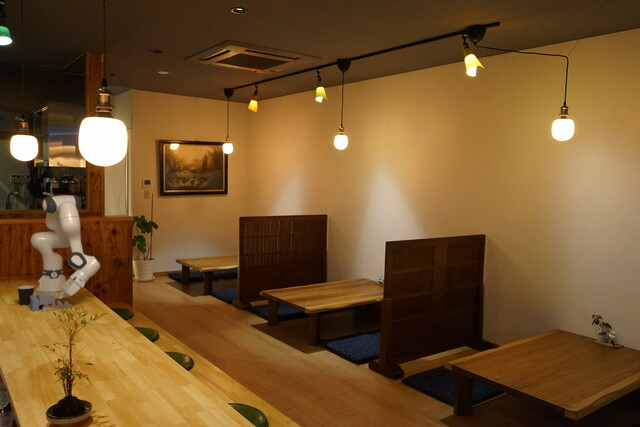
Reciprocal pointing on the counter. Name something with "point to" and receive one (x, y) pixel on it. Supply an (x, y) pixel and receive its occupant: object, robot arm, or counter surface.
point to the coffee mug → (25, 294)
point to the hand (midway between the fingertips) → (59, 297)
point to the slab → (46, 297)
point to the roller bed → (58, 305)
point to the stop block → (34, 303)
